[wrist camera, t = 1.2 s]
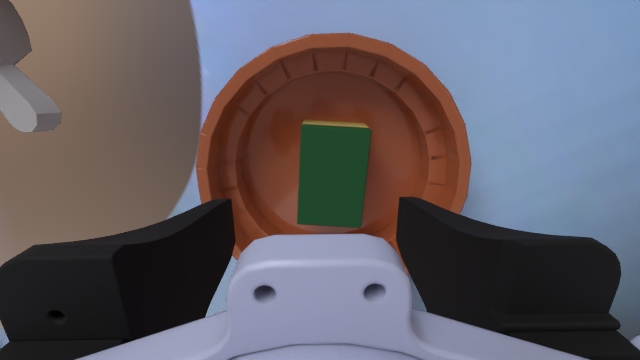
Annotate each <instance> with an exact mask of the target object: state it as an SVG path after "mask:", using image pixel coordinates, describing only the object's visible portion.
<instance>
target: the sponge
mask: <svg viewBox="0 0 640 360" xmlns="http://www.w3.org/2000/svg"><path fill="white" fill-rule="evenodd" d="M371 134H372V130H371V129H370V128H369V127H368V126H367V125H366V124H365V123H354V122H338V121H322V120H304V121H303V123H302V126H301V137H300V162H299V186H298V210H297V224H300V225H317V226H334V227H352V228H361V225H362V216H363V207H364V198H365V189H366V179H367V170H368V161H369V152H370V143H371Z"/></svg>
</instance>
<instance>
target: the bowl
mask: <svg viewBox="0 0 640 360" xmlns="http://www.w3.org/2000/svg"><path fill="white" fill-rule="evenodd" d="M304 120H322V121H338V122H354V123H365V124H366V125H367V126H368V127H369V128H370V129H371V130H372V134H371V143H370V152H369V161H368V170H367V179H366V189H365V198H364V207H363V216H362V225H361V228H352V227H334V226H317V225H300V224H297V210H298V186H299V162H300V137H301V126H302V123H303V121H304ZM470 169H471V156H470V150H469V144H468V137H467V131H466V127H465V123H464V121H463V119H462V117H461V115H460V112H459V110H458V108H457V106H456V104H455V102H454V100H453V98H452V96H451V93H450V92H449V91H448V90H447V88H446V87H445V86H444V85H443V84H442V83H441V82H440V81H439V80H438V78H437V77H436V76H435V75H434V74H433V73H432V72H431V71H430V70H429V68H428V67H427V66H426V65H425V64H423V63H422V62H420V61H419V60H417V59H416V58H414V57H412V56H411V55H409V54H407V53H406V52H404V51H402V50H401V49H399V48H397V47H396V46H394V45H393V44H390V43H388V42H384V41H380V40H376V39H372V38H368V37H365V36H361V35H357V34H353V33H352V34H351V33H330V34H310V35H306V36H303V37H300V38H297V39H294V40H291V41H288V42H285V43H282V44H279V45H276V46H273V47H270V48H269V49H267V50H266V51H264V52H263V53H262V54H260V55H259V56H257V57H256V58H254V59H253V60H251V61H250V62H248V63H247V64H246V65H244V66H243V67H241V68H240V69H239V70H238V71H237V72H236V73H235V74H234V76H233V77H232V78H231V79H230V80H229V82H228V83H227V84H226V85H225V87H224V88H223V89H222V90H221V91H220V93H219V94H218V95H217V96H216V98H215V100H214V101H213V104H212V106H211V108H210V111H209V113H208V115H207V118H206V120H205V122H204V125H203V127H202V130H201V133H200V138H199V146H198V154H197V162H196V173H197V179H198V186H199V193H200V199H201V201H202V202H201V203H202V204H203V203H206V202H208V201H211V200H214V199H231V200H232V210H233V219H234V229H235V239H236V242H235V246H234V250H233V253H232V255H233V257H235V259H237V260H238V259H239V257H240V254H241V252H243V251H244V250H245V249H246V248H247V247H248V246H249V245H250V244H251V243H252V242H253V241H254V240H256V239H260V238H264V237H268V236H272V235H305V234H366V235H371V236H375V237H379V238H383V239H384V240H385V241H386V242H387V243H388V244H390V245H391V246H392V247H393V248H394V249H395V250H396V251H397V253H398V255H399V257H400V260H401V262H402V264H403V266H404V268H405V270H406V272H407V275H409V272H408V270H407V268H406V266H405V264H404V262H403V260H402V258H401V255H400V252H399V249H398V245H397V242H396V229H397V218H398V206H399V197H417V198H421V199H423V200H426V201H428V202H430V203H433V204H435V205H437V206H440V207H442V208H444V209H447V210H449V211H452V212H454V213H457V214H459V215H460V213H461V210H462V208H463V205H464V203H465V200H466V198H467V194H468V186H469V177H470Z"/></svg>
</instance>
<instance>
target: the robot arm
mask: <svg viewBox="0 0 640 360" xmlns="http://www.w3.org/2000/svg"><path fill="white" fill-rule="evenodd" d="M235 242H236V239H235V229H234V219H233V210H232V200H231V199H214V200H211V201H208V202H206V203H203V204H201V205H199V206H197V207H195V208H193V209H190V210H188V211H186V212H184V213H181V214H179V215H177V216H174V217H172V218H169V219H167V220H164V221H162V222H160V223H156V224H153V225H150V226H147V227H144V228H141V229H137V230H133V231H128V232H124V233H120V234H116V235H111V236H106V237H101V238H95V239H88V240H81V241H74V242H64V243H54V244H41V245H33V246H32V247H30V248H28V249H27V250H25V251H24V252H22V253H20V254H18V255H17V256H16V257H14V258H12V259H10V260H9V261H7V262H5V263H4V264H3V265H2V266H1V267H0V320H1V322H2V325H3V327H4V330H5V332H6V334H7V337H8V339H9V341H10V342H9V343H7V344H6V345H5V346H4V347H3V348H2V349H1V350H0V360H640V335H639V336H636V337H634V338H632V339H631V340H630V341H628V340H627V339H626V338H625V337H624V336H622V335H621V334H620V333H619V332H618V331H617V330H615V329H619V328H620V326H621V325H620V323H619V321H618V320H616V319H615V318H614V317H613V316H612V315H610V314H609V310H610V308H611V305H612V302H613V299H614V297H615V294H616V291H617V289H618V286H619V282H620V277H621V267H620V262H619V260H618V258H617V256H616V254H615V253H614V252H613V251H612V250H610V249H609V248H608V247H607V246H605V245H603V244H602V243H600V242H598V241H597V240H595V239H593V238H589V237H573V236H558V235H547V234H539V233H531V232H525V231H518V230H513V229H508V228H503V227H499V226H495V225H491V224H487V223H484V222H480V221H477V220H473V219H470V218H467V217H465V216H462V215H459V214H457V213H454V212H452V211H449V210H447V209H444V208H442V207H440V206H437V205H435V204H433V203H430V202H428V201H426V200H423V199H421V198H417V197H399V206H398V218H397V229H396V242H397V245H398V249H399V252H400V255H401V258H402V260H403V262H404V264H405V266H406V268H407V270H408V272H409V274H410V276H411V278H412V280H413V282H414V284H415V286H416V288H417V290H418V292H419V294H420V296H421V298H422V300H423V302H424V304H425V307H426V310H427V312H425V311H421V310H418V309H414V308H412V301H413V294H412V289H411V285H410V280H409V277H408V275H407V272H406V270H405V268H404V266H403V264H402V262H401V260H400V257H399V255H398V253H397V251H396V250H395V249H394V248H393V247H392V246H391V245H390V244H388V243H387V242H386V241H385V240H384V239H383V238H379V237H375V236H371V235H366V234H305V235H272V236H268V237H264V238H260V239H256V240H254V241H253V242H252V243H251V244H250V245H249V246H248V247H247V248H246V249H245V250H244V251H243V252H241V254H240V257H239V259H238V262H237V264H236V266H235V269H234V271H233V274H232V276H231V279H230V282H229V287H228V292H227V297H226V305H227V311H224V312H221V313H217V314H214V315H211V316H208V317H205V316H206V313H207V310H208V307H209V305H210V303H211V300H212V298H213V296H214V294H215V292H216V290H217V288H218V285H219V283H220V281H221V279H222V277H223V275H224V273H225V271H226V268H227V266H228V264H229V262H230V260H231V256H232V253H233V250H234V246H235Z"/></svg>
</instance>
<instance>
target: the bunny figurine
mask: <svg viewBox="0 0 640 360" xmlns="http://www.w3.org/2000/svg"><path fill="white" fill-rule="evenodd" d="M31 51H32V49H31V44H30V40H29V36H28V33H27V31H26V28H25V26H24V24H23V21H22V19H21V18H20V16H19V14H18V12H17V11H16V9H15V8H14V6H13V4H12V3H11V2H10V1H9V0H0V111H1V112H2V113H3V115H4V116H5V117H6V119H7V120H8V121H9V123H10V124H11V125H12V126H13V127H14V128H16V129H17V130H18V131H20V132H25V133H29V132H38V131H46V130H53V129H54V128H56V127H57V126H58V125H59V124H60V123H61V111H60V109H59V108H58V106H57V104H56V103H55V102H54V101H53V100H52V99H51V98H50V97H49V96H48V95H47V94H46V93H44V92H43V91H42V90H41V89H40V88H39V87H38V86H37V85H36V84H35V83H34V82H32V81H31V80H30V79H29V78H28V77H27V76H25V74H23V73H22V72H21V71H20V70H19V69H18V68H17V67H15V64H16V63H18V62H19V61H20V60H21V59H22V58H24V57H25V56H26V55H27V54H28V53H29V52H31Z"/></svg>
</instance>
